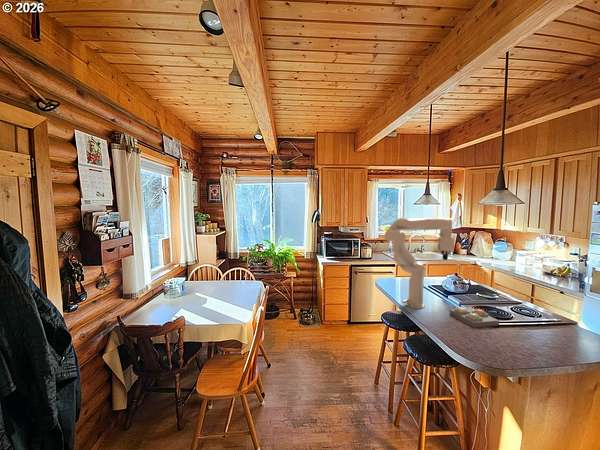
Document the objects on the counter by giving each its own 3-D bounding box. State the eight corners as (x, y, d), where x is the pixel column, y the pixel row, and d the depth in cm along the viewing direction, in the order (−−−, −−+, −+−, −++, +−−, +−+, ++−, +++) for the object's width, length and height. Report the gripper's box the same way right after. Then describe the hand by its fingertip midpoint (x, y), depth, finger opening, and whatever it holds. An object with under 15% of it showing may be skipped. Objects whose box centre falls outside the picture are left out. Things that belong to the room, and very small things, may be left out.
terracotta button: (479, 315, 167) (479, 312, 167) (473, 313, 172) (474, 309, 171) (485, 315, 168) (485, 311, 168) (480, 312, 172) (480, 309, 172)
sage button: (473, 320, 161) (473, 316, 161) (467, 317, 165) (468, 313, 165) (480, 319, 162) (480, 315, 161) (474, 316, 166) (474, 312, 166)
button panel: (473, 327, 158) (473, 320, 158) (449, 314, 178) (450, 307, 178) (499, 325, 161) (499, 318, 160) (472, 312, 180) (473, 306, 180)
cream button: (461, 313, 171) (461, 309, 171) (456, 310, 175) (456, 307, 175) (467, 313, 172) (467, 309, 171) (462, 310, 176) (462, 306, 176)
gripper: (439, 235, 193) (438, 260, 194) (458, 235, 195) (457, 260, 196) (433, 234, 200) (432, 258, 202) (451, 234, 202) (451, 258, 203)
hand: (445, 259), depth 199 cm, fingers closed
